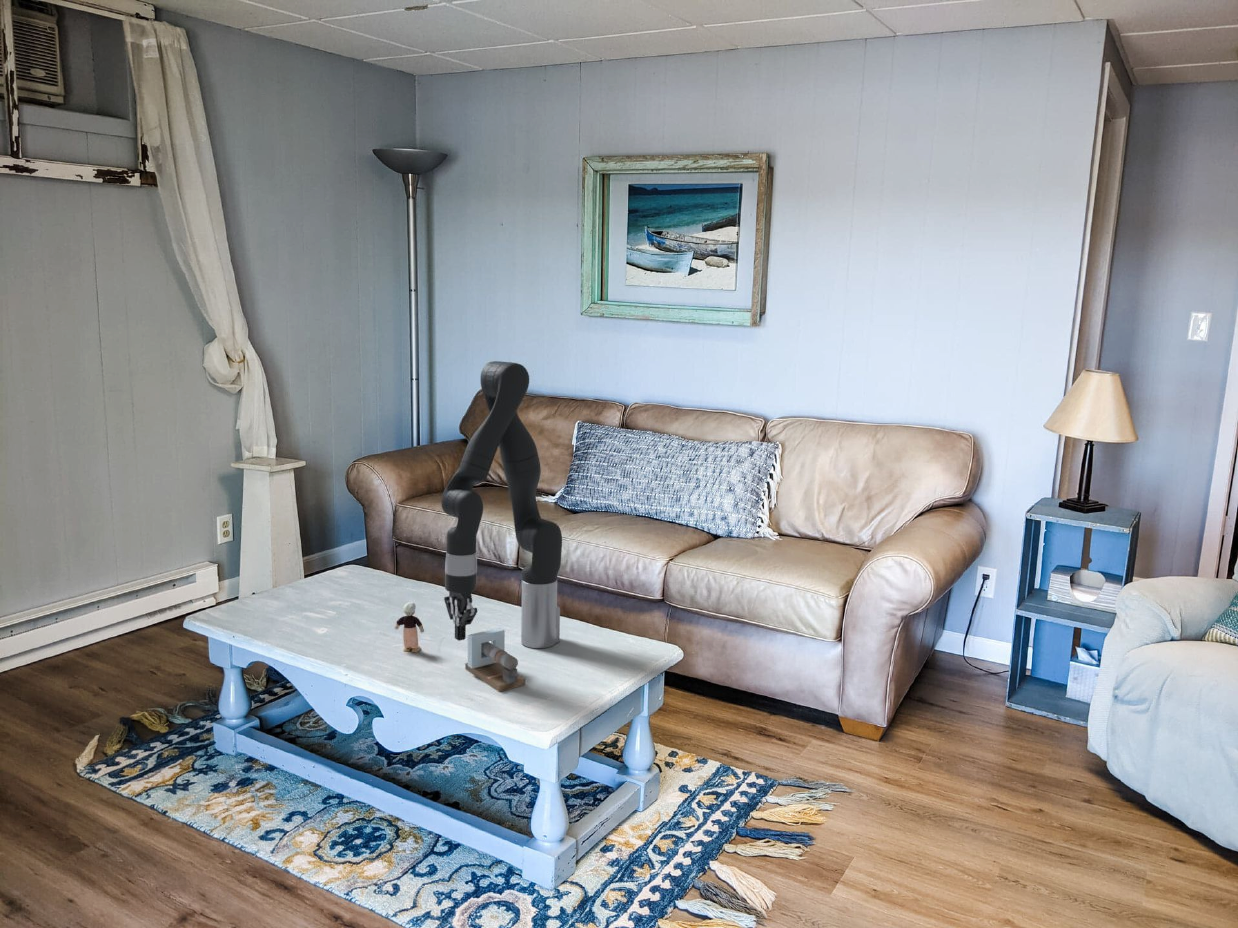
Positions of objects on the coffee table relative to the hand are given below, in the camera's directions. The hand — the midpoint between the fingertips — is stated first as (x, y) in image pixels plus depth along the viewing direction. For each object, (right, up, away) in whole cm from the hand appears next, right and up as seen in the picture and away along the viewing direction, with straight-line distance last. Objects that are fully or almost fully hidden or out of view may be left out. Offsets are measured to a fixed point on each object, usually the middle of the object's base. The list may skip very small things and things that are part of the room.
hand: (460, 639), depth 230 cm
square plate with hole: (+7, -6, -1) cm, 9 cm away
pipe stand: (+9, -8, -4) cm, 13 cm away
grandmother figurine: (-15, -5, +11) cm, 19 cm away
